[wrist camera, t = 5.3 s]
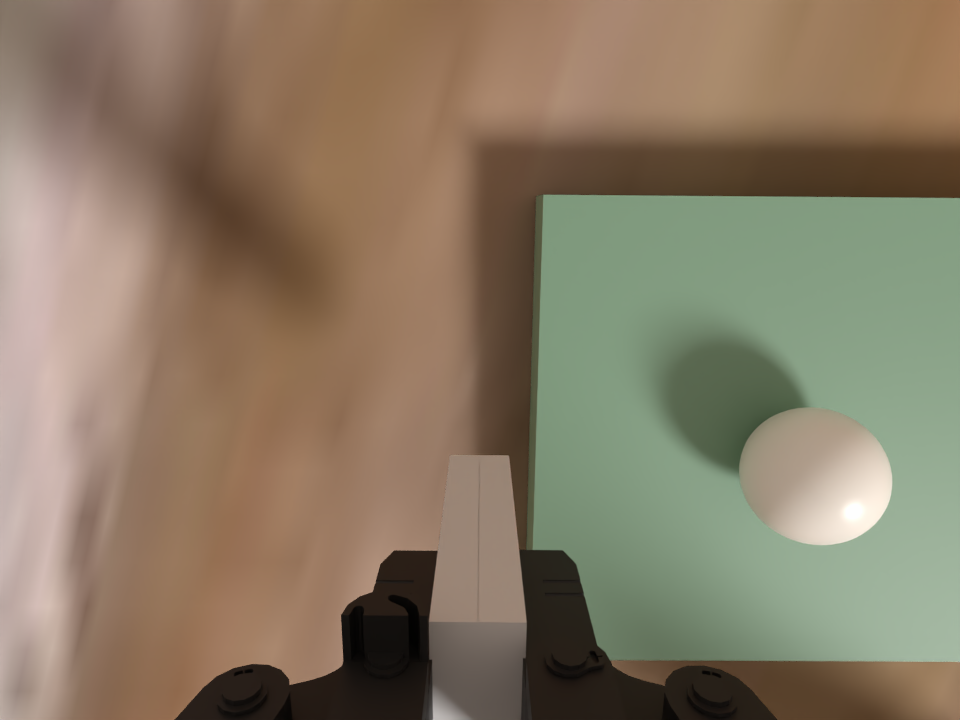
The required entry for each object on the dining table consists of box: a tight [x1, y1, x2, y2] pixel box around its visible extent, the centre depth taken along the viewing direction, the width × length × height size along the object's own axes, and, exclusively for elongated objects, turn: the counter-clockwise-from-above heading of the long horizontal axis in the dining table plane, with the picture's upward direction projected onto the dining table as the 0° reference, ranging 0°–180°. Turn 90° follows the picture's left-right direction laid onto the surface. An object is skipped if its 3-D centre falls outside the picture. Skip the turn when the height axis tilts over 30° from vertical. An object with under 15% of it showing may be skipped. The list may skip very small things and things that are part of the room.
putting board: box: [526, 195, 960, 662], centre depth 22 cm, size 28×16×2 cm, turn 90°
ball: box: [739, 407, 892, 545], centre depth 19 cm, size 4×4×4 cm
